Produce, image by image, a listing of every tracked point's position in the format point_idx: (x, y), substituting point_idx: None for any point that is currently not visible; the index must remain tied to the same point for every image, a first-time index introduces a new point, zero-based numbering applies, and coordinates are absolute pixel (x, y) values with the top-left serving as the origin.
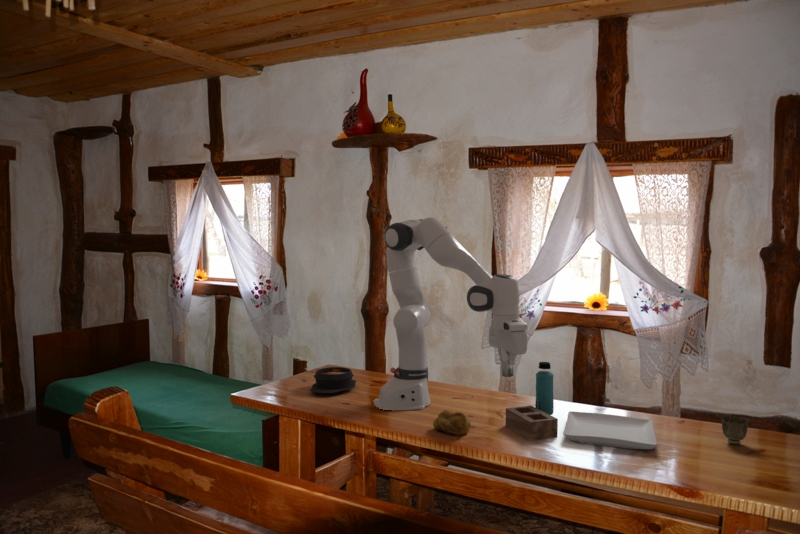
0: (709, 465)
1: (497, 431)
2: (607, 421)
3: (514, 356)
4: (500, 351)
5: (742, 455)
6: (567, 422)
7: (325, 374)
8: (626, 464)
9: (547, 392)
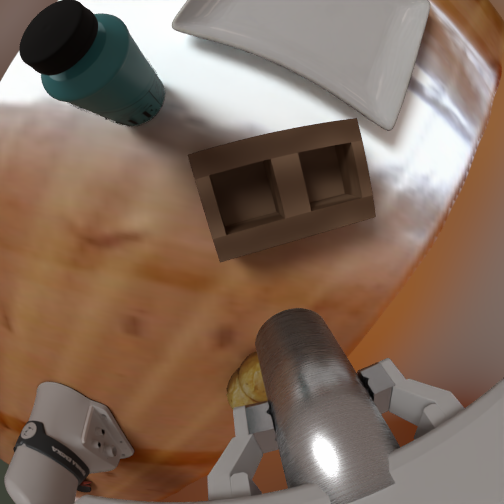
0: None
1: (270, 277)
2: None
3: (436, 397)
4: (258, 489)
5: None
6: (302, 72)
7: None
8: (458, 82)
9: (147, 70)
